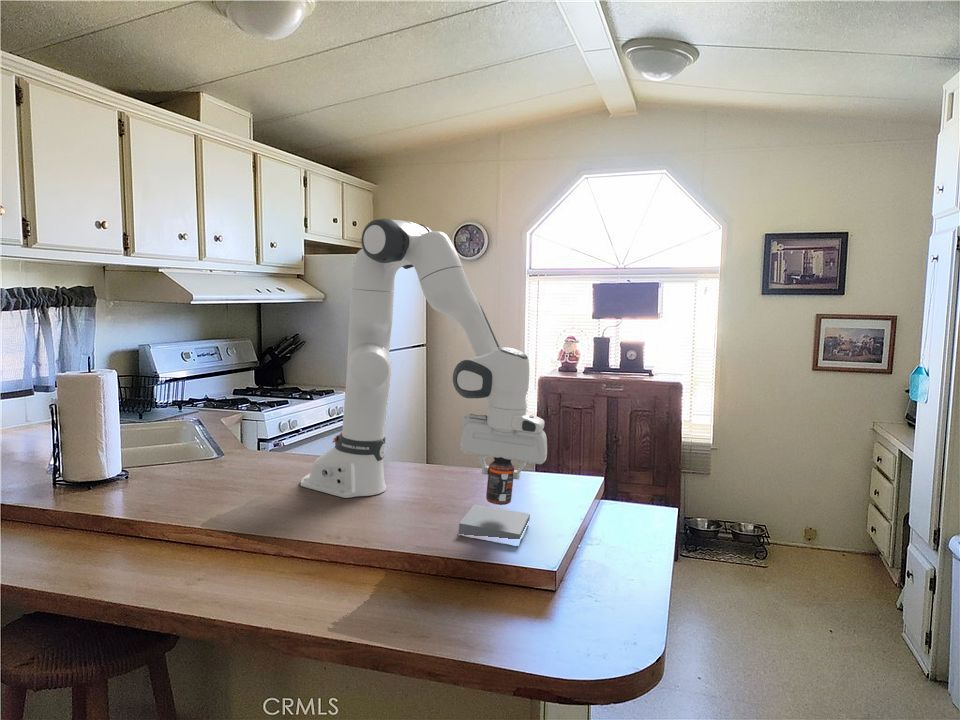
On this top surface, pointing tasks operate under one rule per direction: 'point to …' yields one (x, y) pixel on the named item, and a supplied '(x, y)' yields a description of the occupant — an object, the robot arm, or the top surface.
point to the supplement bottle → (500, 481)
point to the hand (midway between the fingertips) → (500, 476)
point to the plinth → (493, 522)
